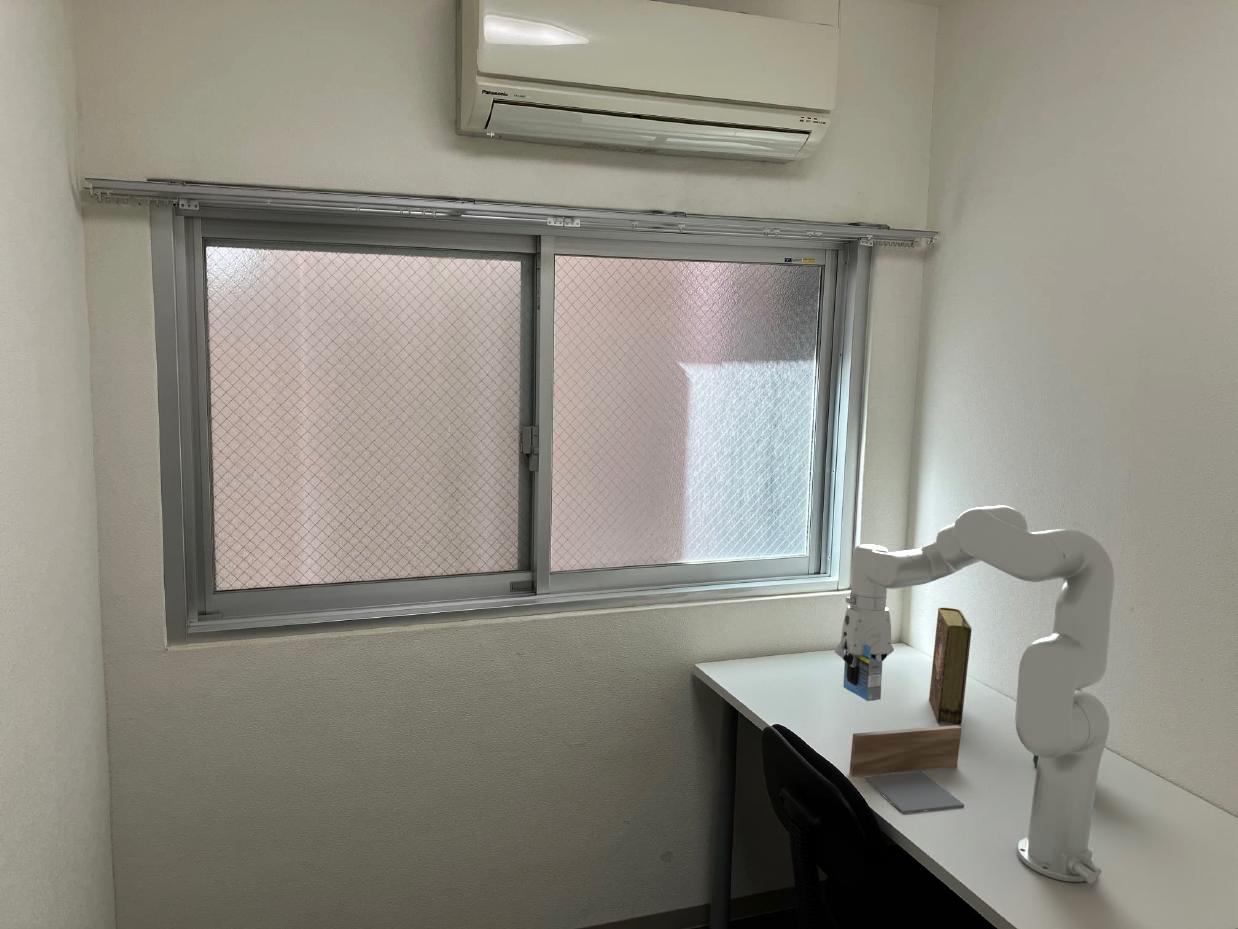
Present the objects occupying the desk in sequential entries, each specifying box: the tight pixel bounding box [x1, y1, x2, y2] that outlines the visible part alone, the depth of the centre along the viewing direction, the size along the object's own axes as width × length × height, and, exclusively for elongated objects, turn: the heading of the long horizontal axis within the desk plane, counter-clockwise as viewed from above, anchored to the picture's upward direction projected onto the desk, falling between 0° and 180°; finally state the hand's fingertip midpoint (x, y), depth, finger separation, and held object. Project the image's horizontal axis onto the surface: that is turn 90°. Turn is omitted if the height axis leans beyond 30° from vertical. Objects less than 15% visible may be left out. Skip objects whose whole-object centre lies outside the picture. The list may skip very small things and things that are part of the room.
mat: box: [863, 770, 965, 814], centre depth 179 cm, size 14×14×1 cm
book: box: [928, 607, 973, 726], centre depth 220 cm, size 16×6×25 cm, turn 168°
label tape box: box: [842, 645, 883, 702], centre depth 192 cm, size 9×4×12 cm, turn 22°
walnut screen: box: [848, 724, 962, 777], centre depth 188 cm, size 1×26×9 cm, turn 106°
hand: (862, 681), depth 193 cm, fingers closed on label tape box, 4 cm apart
